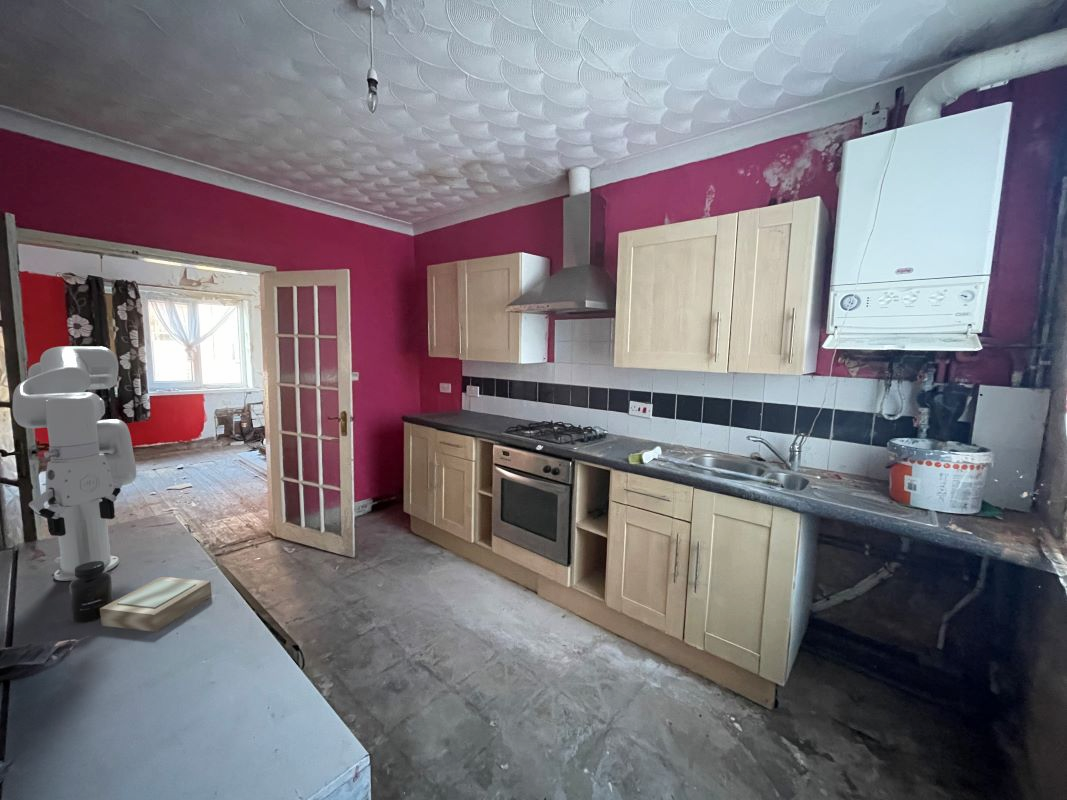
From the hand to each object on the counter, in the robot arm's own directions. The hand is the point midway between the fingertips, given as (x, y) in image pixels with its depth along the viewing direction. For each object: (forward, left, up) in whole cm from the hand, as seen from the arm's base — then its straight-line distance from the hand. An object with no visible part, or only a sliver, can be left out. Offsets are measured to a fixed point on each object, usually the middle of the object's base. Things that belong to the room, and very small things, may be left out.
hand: (84, 526), depth 100 cm
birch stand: (+13, +4, -21) cm, 25 cm away
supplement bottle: (0, 0, -22) cm, 22 cm away
